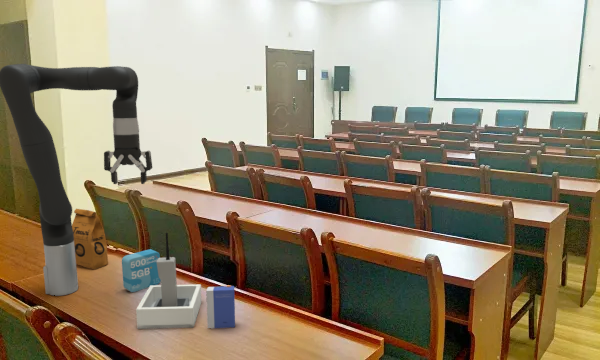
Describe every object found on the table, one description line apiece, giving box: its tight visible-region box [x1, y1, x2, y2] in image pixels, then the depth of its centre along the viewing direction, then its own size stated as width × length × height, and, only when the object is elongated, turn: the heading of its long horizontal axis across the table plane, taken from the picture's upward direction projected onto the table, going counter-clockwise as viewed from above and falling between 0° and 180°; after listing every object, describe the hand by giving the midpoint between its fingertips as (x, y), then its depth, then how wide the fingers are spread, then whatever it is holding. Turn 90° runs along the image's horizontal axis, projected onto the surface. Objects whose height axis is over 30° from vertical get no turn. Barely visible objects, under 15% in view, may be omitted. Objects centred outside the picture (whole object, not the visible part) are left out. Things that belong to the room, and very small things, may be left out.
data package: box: [121, 248, 161, 293], centre depth 169 cm, size 12×4×12 cm, turn 137°
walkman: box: [205, 284, 236, 329], centre depth 142 cm, size 8×3×12 cm, turn 96°
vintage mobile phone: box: [157, 232, 178, 307], centre depth 147 cm, size 4×5×25 cm
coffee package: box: [72, 208, 109, 270], centre depth 188 cm, size 10×12×22 cm
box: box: [135, 283, 202, 330], centre depth 149 cm, size 16×17×6 cm
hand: (129, 183), depth 155 cm, fingers open, 8 cm apart
